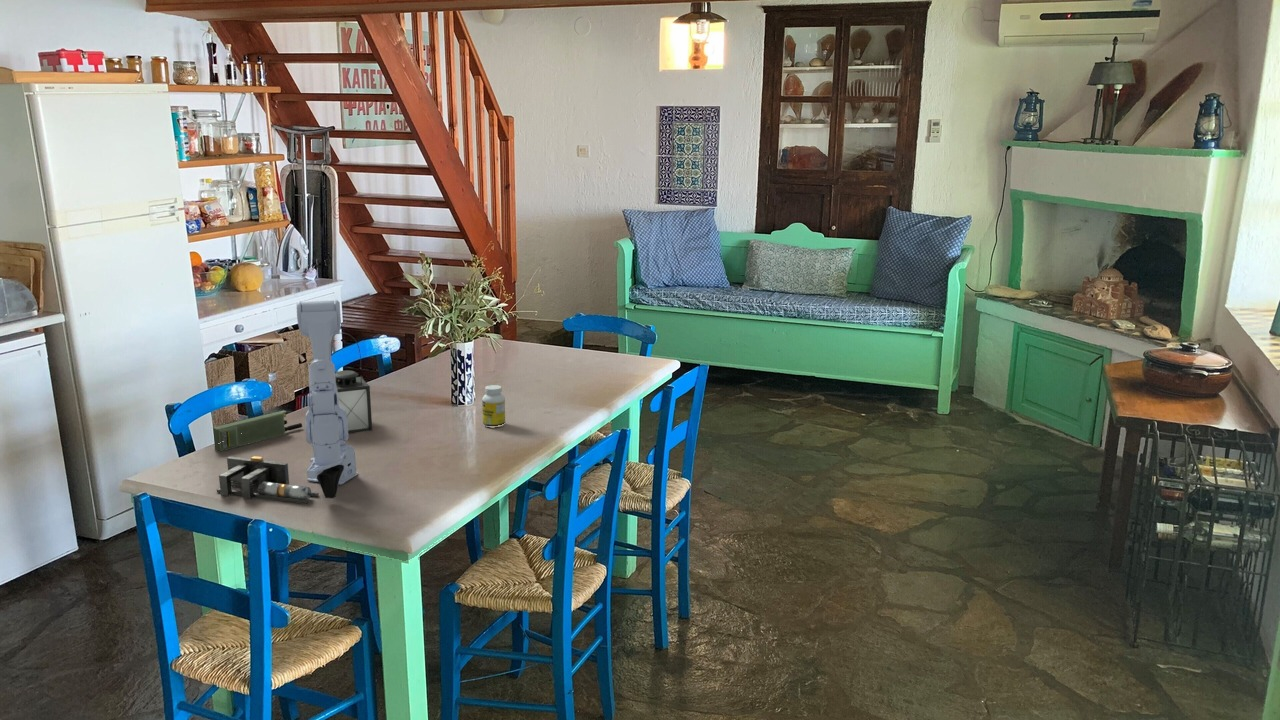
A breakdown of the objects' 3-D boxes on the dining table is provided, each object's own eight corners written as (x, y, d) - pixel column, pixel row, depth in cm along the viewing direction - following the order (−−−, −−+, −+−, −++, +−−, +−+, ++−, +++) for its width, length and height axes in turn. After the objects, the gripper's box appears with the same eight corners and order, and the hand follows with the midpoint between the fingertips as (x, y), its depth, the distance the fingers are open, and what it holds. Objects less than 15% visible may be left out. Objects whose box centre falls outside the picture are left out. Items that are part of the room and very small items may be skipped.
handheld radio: (213, 449, 252) (298, 427, 270) (219, 453, 250) (304, 430, 268) (211, 426, 250) (297, 405, 269) (217, 429, 248) (303, 408, 267)
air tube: (312, 494, 221) (308, 484, 219) (305, 503, 218) (301, 493, 216) (267, 489, 224) (264, 478, 222) (260, 497, 221) (256, 487, 219)
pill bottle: (480, 423, 276) (478, 385, 273) (501, 420, 279) (500, 383, 276) (487, 430, 270) (486, 391, 267) (508, 427, 273) (507, 388, 270)
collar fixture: (326, 491, 224) (324, 464, 223) (303, 506, 216) (300, 478, 214) (232, 479, 231) (230, 453, 229) (206, 493, 222) (203, 466, 220)
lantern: (372, 430, 269) (367, 334, 262) (332, 436, 264) (325, 338, 257) (364, 420, 278) (359, 327, 271) (325, 424, 273) (319, 330, 266)
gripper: (327, 430, 222) (331, 484, 225) (292, 450, 208) (297, 507, 211) (354, 432, 220) (358, 486, 223) (321, 452, 206) (325, 510, 210)
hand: (330, 497), depth 217 cm, fingers closed
